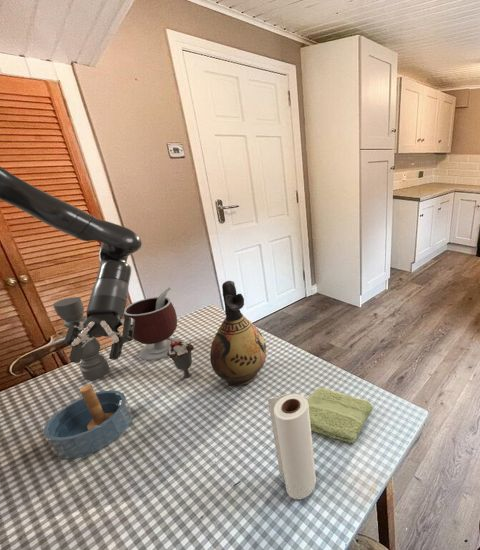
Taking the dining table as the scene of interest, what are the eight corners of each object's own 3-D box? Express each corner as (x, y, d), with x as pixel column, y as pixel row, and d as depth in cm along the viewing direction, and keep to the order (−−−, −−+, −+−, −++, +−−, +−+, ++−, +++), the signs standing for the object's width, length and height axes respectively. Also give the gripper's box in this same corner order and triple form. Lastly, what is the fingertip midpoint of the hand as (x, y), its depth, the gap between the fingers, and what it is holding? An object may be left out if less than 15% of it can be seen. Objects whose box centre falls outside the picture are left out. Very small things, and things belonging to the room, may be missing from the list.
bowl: (37, 468, 66) (24, 446, 63) (79, 415, 79) (70, 396, 76) (115, 453, 69) (105, 432, 66) (143, 405, 82) (136, 386, 79)
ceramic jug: (276, 379, 91) (263, 289, 79) (221, 402, 83) (197, 304, 71) (260, 351, 104) (246, 270, 92) (211, 368, 96) (189, 281, 84)
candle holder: (106, 364, 98) (78, 294, 88) (113, 372, 94) (84, 300, 85) (81, 375, 93) (49, 302, 84) (87, 383, 90) (54, 309, 80)
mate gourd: (156, 365, 97) (138, 311, 89) (127, 356, 101) (107, 303, 94) (196, 339, 110) (184, 290, 103) (169, 332, 115) (155, 284, 107)
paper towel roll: (321, 489, 61) (313, 409, 53) (292, 507, 58) (279, 424, 50) (307, 461, 67) (298, 384, 59) (280, 475, 64) (267, 397, 56)
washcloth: (317, 390, 87) (316, 381, 85) (374, 408, 80) (374, 399, 79) (289, 425, 75) (288, 415, 74) (353, 450, 69) (353, 440, 68)
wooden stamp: (83, 435, 72) (65, 397, 68) (97, 417, 77) (81, 381, 73) (107, 431, 73) (91, 394, 69) (120, 414, 78) (105, 378, 73)
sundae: (169, 382, 90) (156, 340, 84) (189, 368, 95) (177, 327, 90) (186, 388, 88) (173, 344, 82) (205, 373, 93) (194, 332, 88)
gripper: (67, 295, 76) (48, 361, 70) (129, 292, 78) (116, 355, 72) (89, 304, 83) (74, 365, 77) (145, 301, 85) (135, 360, 79)
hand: (94, 360), depth 74 cm, fingers open, 8 cm apart
